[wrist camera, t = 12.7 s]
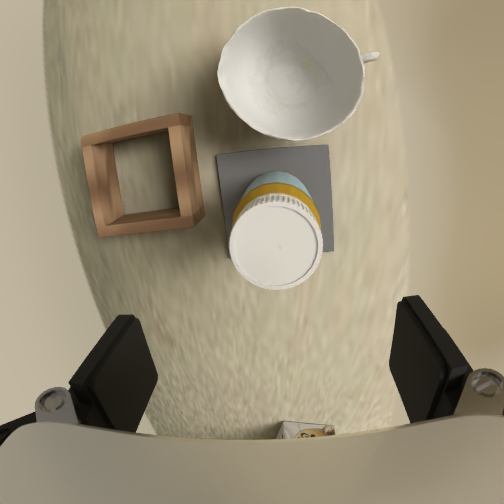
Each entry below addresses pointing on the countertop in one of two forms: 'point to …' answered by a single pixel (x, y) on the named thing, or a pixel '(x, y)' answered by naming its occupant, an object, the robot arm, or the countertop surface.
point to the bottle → (276, 232)
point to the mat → (285, 160)
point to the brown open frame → (107, 186)
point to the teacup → (292, 73)
